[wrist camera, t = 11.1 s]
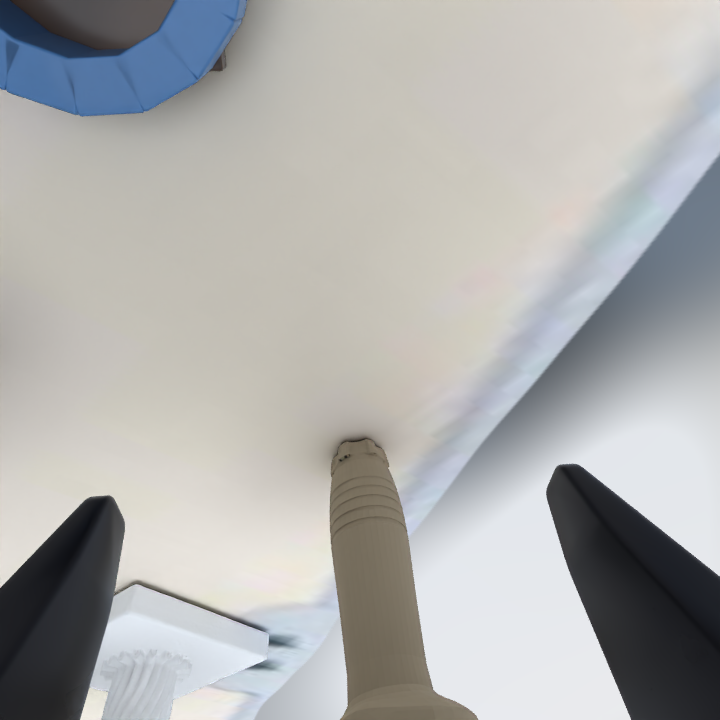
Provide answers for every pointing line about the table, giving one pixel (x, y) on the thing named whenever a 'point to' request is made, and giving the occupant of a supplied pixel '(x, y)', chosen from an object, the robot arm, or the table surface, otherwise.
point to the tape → (114, 60)
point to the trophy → (167, 653)
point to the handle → (379, 595)
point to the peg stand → (102, 21)
